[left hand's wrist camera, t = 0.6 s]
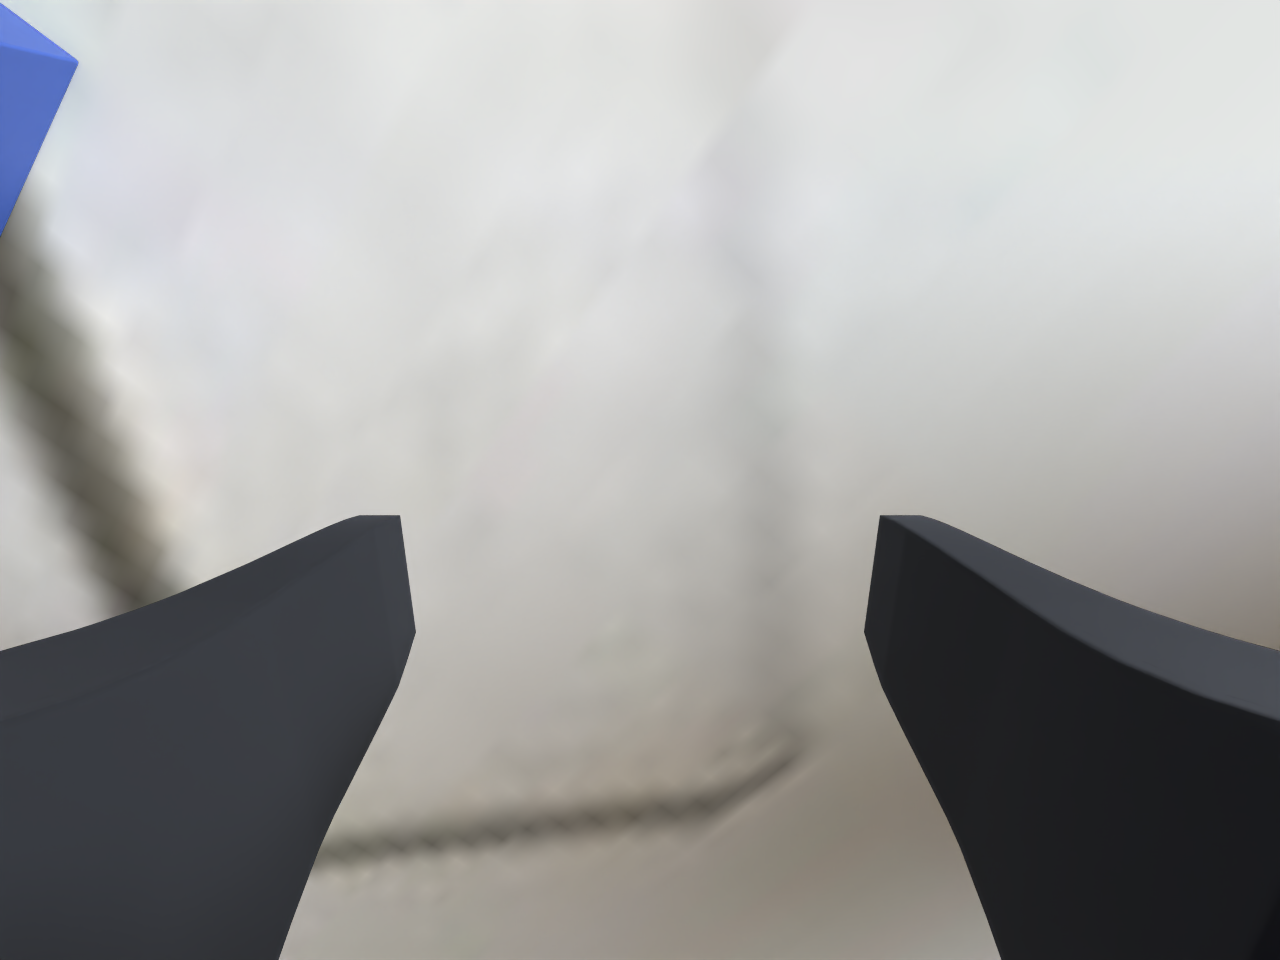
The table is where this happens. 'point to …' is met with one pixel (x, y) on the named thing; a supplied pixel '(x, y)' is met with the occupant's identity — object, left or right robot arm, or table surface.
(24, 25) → the block
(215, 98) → the table surface
